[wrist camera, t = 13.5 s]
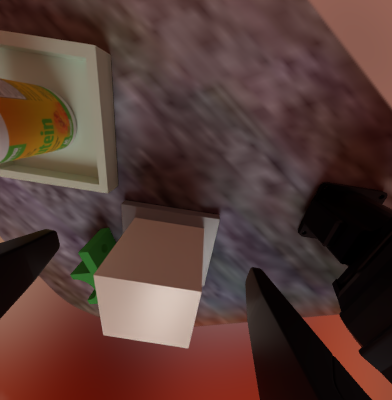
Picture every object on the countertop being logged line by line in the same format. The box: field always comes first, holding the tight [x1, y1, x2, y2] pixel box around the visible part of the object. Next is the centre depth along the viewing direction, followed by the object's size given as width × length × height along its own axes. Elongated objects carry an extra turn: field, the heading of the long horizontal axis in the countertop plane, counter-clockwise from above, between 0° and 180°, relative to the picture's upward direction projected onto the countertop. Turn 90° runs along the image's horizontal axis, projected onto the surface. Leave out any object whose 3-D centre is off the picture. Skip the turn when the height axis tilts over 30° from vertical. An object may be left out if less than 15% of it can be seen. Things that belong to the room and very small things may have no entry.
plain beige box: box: [93, 200, 220, 348], centre depth 19 cm, size 11×11×9 cm
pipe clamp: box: [70, 228, 116, 304], centre depth 23 cm, size 11×4×5 cm, turn 11°
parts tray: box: [0, 30, 118, 193], centre depth 16 cm, size 12×12×2 cm
